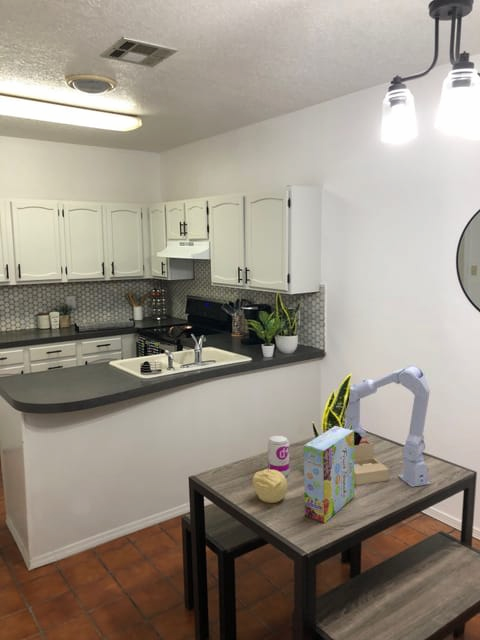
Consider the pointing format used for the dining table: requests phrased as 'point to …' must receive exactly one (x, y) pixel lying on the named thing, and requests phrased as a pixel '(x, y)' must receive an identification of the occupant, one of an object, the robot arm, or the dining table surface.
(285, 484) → the pale yellow round lump
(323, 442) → the snack box
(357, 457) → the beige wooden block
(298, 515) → the dining table surface
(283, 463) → the supplement can
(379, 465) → the carton
